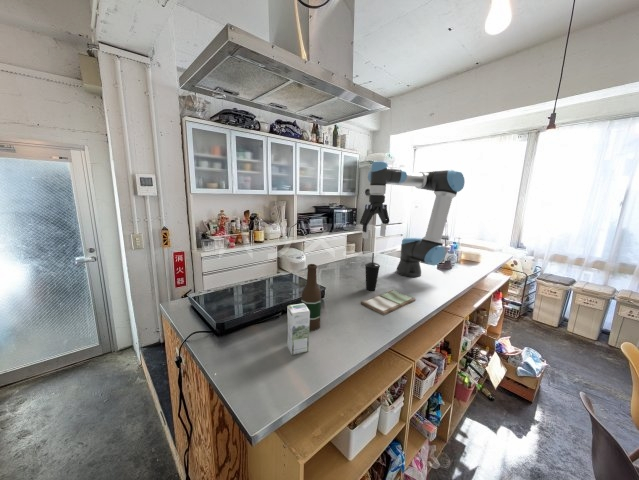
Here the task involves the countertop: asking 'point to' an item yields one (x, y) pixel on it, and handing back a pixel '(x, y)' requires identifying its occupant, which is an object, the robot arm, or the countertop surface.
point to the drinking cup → (371, 275)
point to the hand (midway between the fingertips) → (374, 237)
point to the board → (388, 302)
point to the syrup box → (298, 328)
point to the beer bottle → (312, 297)
